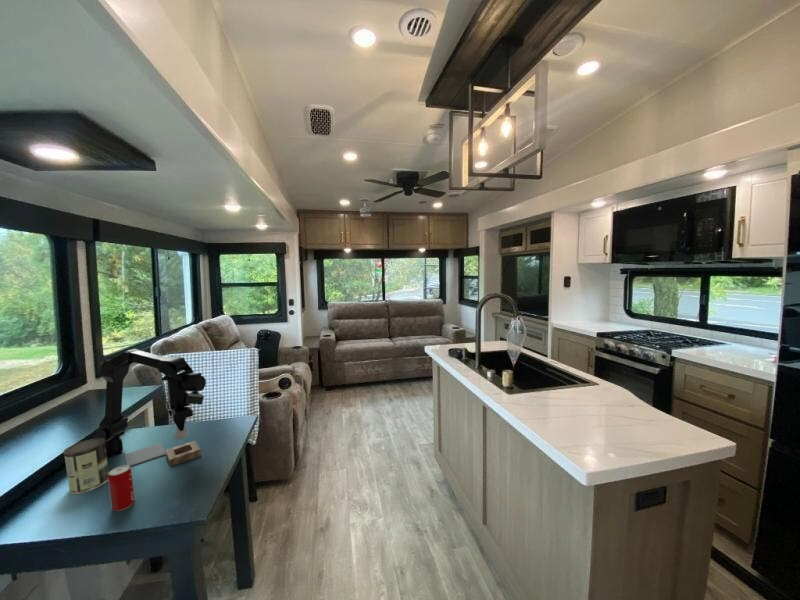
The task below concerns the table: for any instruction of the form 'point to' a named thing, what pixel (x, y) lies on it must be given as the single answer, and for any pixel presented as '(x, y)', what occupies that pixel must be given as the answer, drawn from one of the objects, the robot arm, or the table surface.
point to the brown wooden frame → (183, 453)
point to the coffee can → (86, 465)
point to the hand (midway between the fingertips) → (181, 429)
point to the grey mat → (144, 455)
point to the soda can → (121, 488)
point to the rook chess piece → (181, 433)
